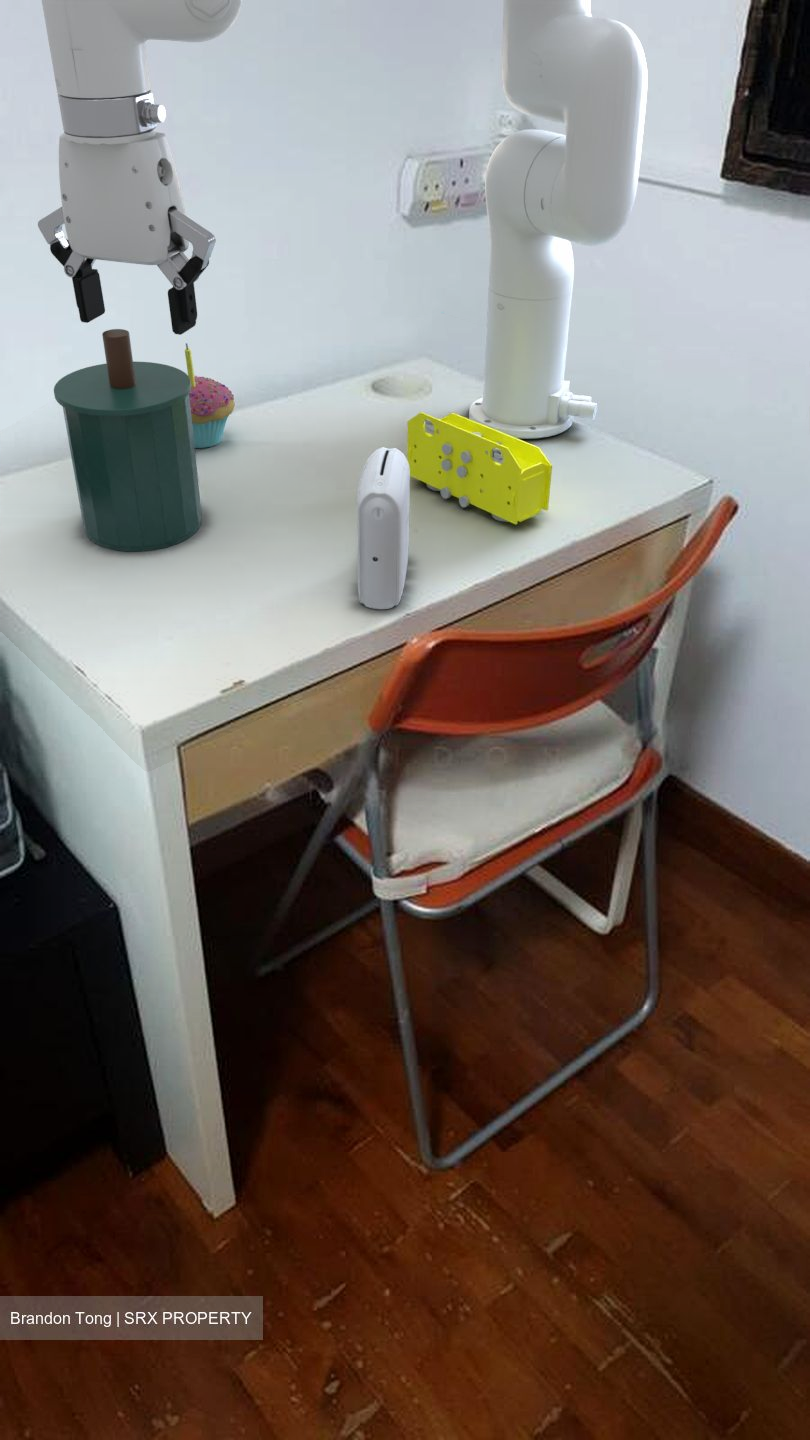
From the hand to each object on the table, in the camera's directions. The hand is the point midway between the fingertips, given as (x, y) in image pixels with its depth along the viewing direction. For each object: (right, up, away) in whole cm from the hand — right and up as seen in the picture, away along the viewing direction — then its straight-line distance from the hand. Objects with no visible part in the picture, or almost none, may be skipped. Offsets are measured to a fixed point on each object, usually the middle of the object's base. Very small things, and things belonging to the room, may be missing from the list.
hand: (138, 323), depth 105 cm
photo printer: (+23, -24, +2) cm, 33 cm away
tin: (-2, -17, +11) cm, 20 cm away
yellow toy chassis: (+32, -13, +16) cm, 38 cm away
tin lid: (-2, -6, +2) cm, 6 cm away
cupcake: (+1, -4, +28) cm, 28 cm away
